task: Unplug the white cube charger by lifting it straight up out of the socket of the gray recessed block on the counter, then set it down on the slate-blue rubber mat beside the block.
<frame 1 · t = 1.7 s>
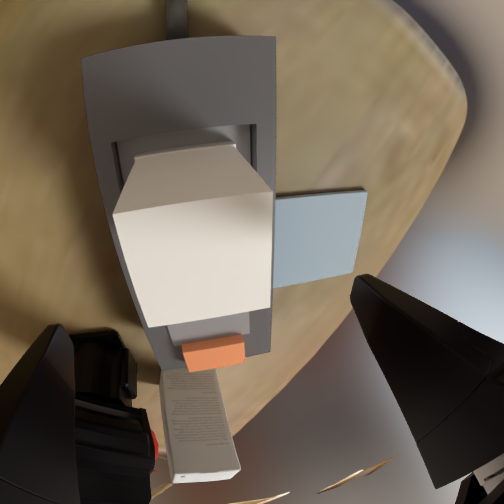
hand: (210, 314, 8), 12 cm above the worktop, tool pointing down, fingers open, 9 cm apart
mat: (316, 239, 23), on the worktop
gray recessed block: (191, 214, 19), on the worktop
skincare box: (186, 375, 30), on the worktop
charger: (188, 191, 15), point 3 cm above the worktop, touching gray recessed block
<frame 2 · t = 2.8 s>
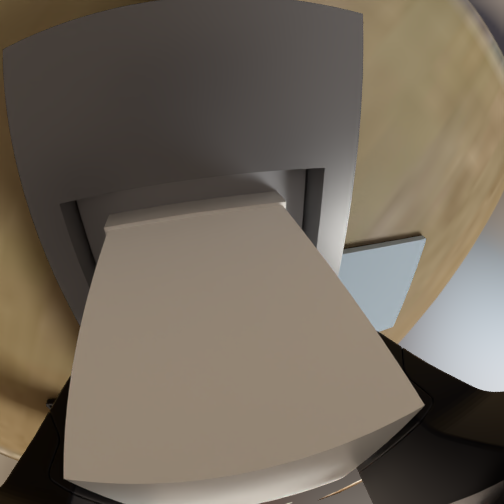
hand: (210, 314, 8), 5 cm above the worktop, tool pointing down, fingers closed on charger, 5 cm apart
mat: (360, 297, 18), on the worktop
gray recessed block: (202, 280, 14), on the worktop
charger: (201, 271, 10), point 3 cm above the worktop, touching gripper, gray recessed block
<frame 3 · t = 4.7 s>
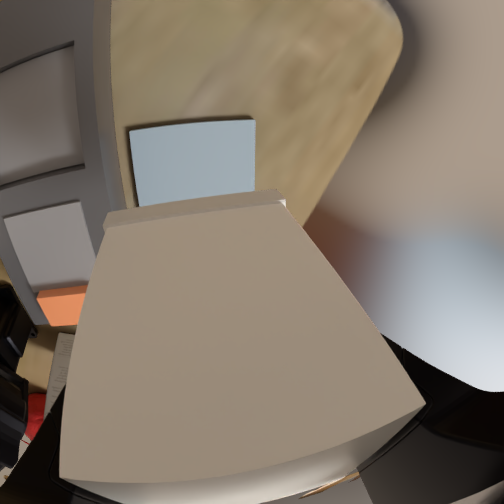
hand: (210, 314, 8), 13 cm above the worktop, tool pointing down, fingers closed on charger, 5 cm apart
mat: (195, 180, 19), on the worktop
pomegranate: (50, 402, 29), on the worktop
gray recessed block: (55, 153, 15), on the worktop
skincare box: (88, 347, 25), on the worktop
charger: (201, 269, 9), point 11 cm above the worktop, touching gripper
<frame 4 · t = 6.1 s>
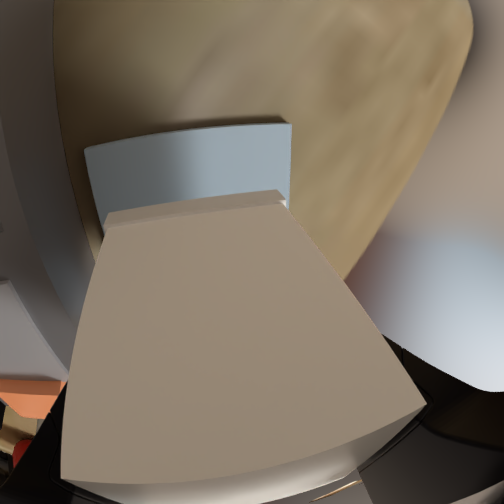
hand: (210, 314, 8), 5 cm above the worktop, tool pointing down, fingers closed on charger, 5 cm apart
mat: (195, 221, 12), on the worktop
charger: (201, 269, 9), point 3 cm above the worktop, touching gripper
when the fingers open (4 cm above the worktop, at t = 6.9 s): charger drops 1 cm, resting on mat.
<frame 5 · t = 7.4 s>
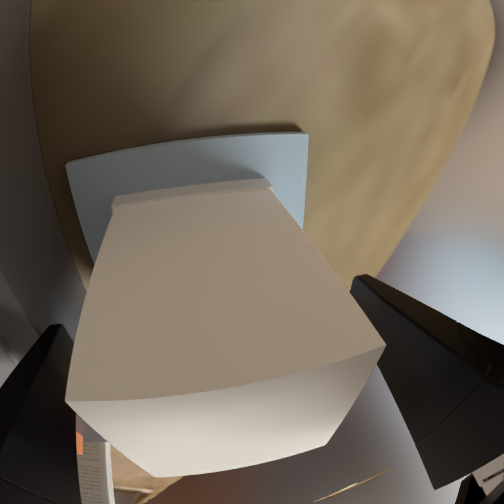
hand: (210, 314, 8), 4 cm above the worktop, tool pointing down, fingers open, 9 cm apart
mat: (197, 245, 11), on the worktop
skincare box: (75, 427, 17), on the worktop
charger: (197, 250, 10), resting on mat
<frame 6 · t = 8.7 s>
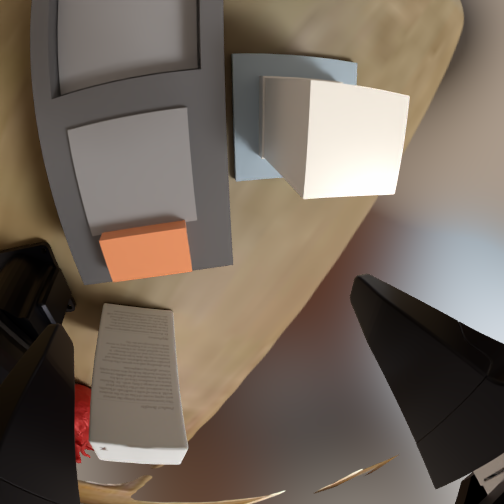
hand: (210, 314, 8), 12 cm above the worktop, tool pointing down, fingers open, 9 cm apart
mat: (296, 116, 17), on the worktop
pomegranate: (79, 393, 28), on the worktop
gray recessed block: (135, 72, 13), on the worktop
skincare box: (138, 321, 23), on the worktop
charger: (298, 116, 16), resting on mat
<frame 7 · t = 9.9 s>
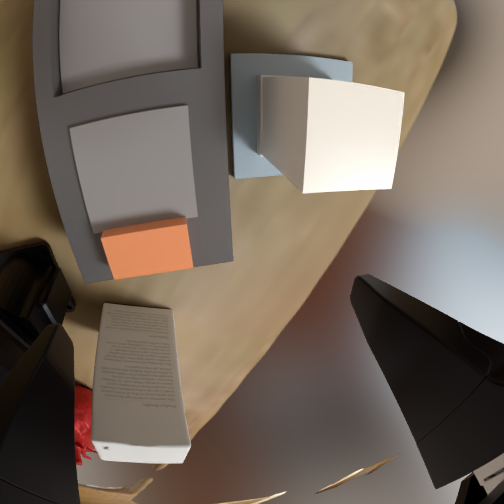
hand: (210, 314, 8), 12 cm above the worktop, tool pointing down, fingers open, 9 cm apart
mat: (293, 114, 17), on the worktop
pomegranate: (79, 395, 28), on the worktop
gray recessed block: (135, 72, 13), on the worktop
skincare box: (138, 320, 23), on the worktop
charger: (295, 114, 17), resting on mat
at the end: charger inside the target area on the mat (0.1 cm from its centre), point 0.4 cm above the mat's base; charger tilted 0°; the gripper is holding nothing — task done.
